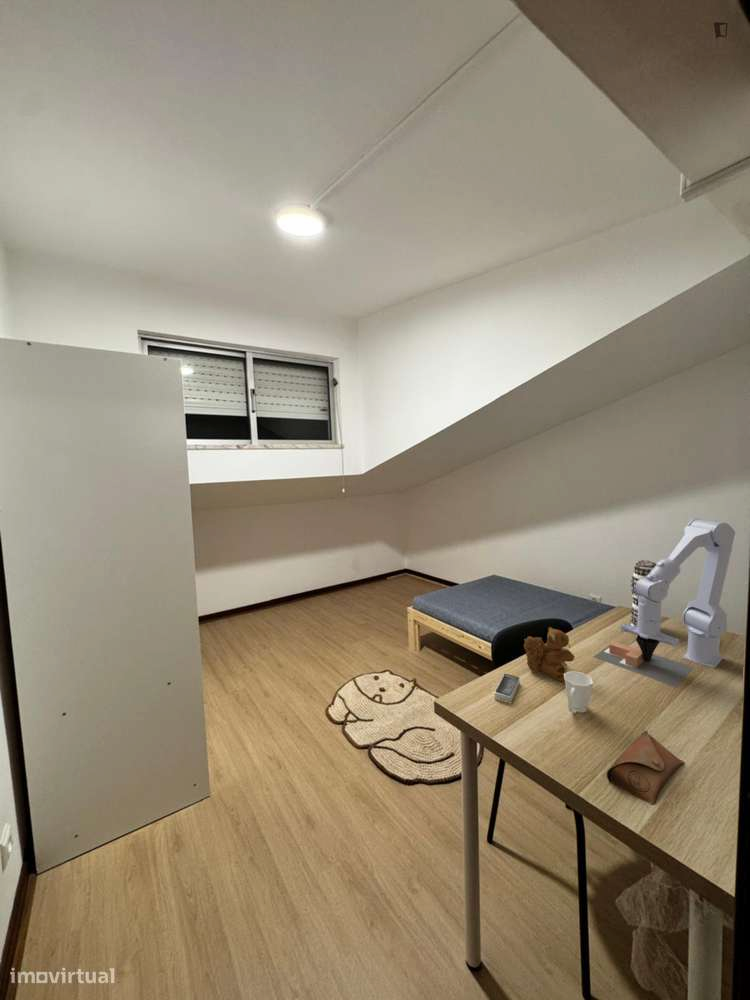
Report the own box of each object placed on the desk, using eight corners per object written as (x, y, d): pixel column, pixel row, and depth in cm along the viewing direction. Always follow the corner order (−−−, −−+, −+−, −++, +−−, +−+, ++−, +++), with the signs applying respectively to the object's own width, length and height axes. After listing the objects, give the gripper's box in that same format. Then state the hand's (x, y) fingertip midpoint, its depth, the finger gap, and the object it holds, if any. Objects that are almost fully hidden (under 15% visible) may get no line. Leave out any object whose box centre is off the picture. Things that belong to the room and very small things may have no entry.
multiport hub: (494, 700, 106) (494, 692, 106) (504, 680, 116) (504, 672, 115) (510, 705, 104) (510, 697, 104) (519, 684, 113) (519, 677, 113)
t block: (617, 646, 131) (617, 638, 131) (648, 656, 124) (649, 647, 124) (604, 656, 125) (604, 647, 125) (636, 667, 118) (636, 658, 118)
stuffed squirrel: (575, 684, 112) (576, 640, 110) (522, 675, 117) (522, 633, 116) (572, 666, 121) (573, 626, 120) (523, 659, 126) (523, 620, 125)
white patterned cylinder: (661, 634, 140) (664, 566, 137) (630, 629, 144) (632, 563, 142) (658, 624, 148) (660, 560, 145) (629, 620, 152) (631, 557, 150)
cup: (596, 706, 102) (597, 677, 101) (585, 726, 94) (585, 694, 94) (567, 695, 107) (568, 667, 106) (554, 714, 99) (555, 684, 98)
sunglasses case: (655, 808, 72) (635, 769, 74) (618, 804, 77) (601, 767, 79) (686, 761, 83) (668, 727, 85) (652, 760, 88) (636, 728, 90)
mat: (614, 642, 135) (614, 641, 135) (694, 668, 118) (694, 667, 118) (593, 658, 126) (593, 656, 126) (676, 688, 108) (676, 687, 108)
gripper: (617, 614, 122) (616, 655, 124) (673, 629, 111) (671, 675, 112) (626, 608, 126) (625, 648, 128) (681, 622, 115) (679, 666, 116)
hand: (647, 660), depth 120 cm, fingers closed
